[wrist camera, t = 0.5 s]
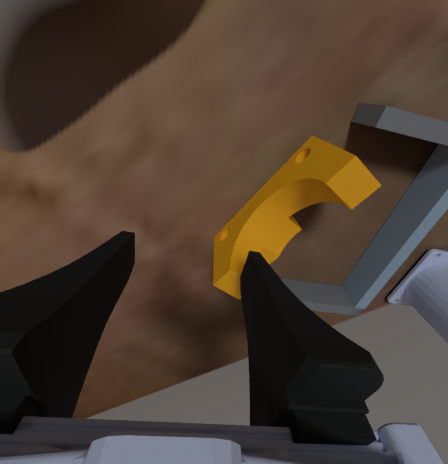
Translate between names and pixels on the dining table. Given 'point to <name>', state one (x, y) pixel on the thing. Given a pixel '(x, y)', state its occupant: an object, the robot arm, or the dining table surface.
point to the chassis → (398, 223)
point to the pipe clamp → (288, 207)
